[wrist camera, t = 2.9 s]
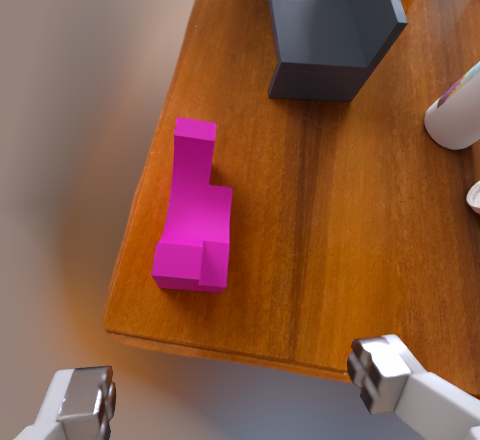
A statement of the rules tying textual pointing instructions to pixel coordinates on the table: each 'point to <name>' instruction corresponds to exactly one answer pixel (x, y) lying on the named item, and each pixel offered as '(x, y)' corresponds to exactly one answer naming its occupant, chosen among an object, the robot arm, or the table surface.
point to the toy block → (194, 216)
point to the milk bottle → (457, 113)
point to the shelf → (330, 45)
